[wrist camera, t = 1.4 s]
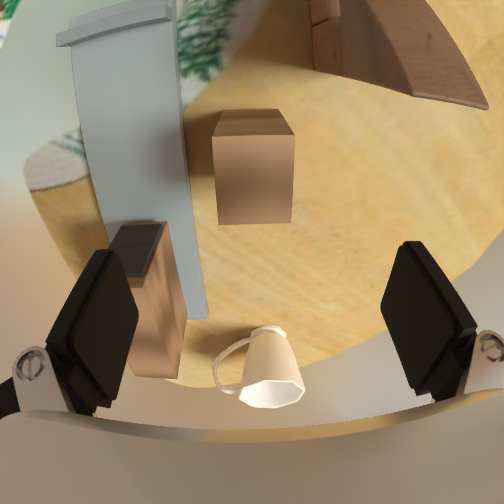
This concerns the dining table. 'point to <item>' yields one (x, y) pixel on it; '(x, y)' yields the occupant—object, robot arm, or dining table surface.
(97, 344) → the robot arm
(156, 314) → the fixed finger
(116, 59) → the rail
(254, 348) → the cup
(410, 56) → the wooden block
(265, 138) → the brown rectangular block
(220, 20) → the dining table surface
